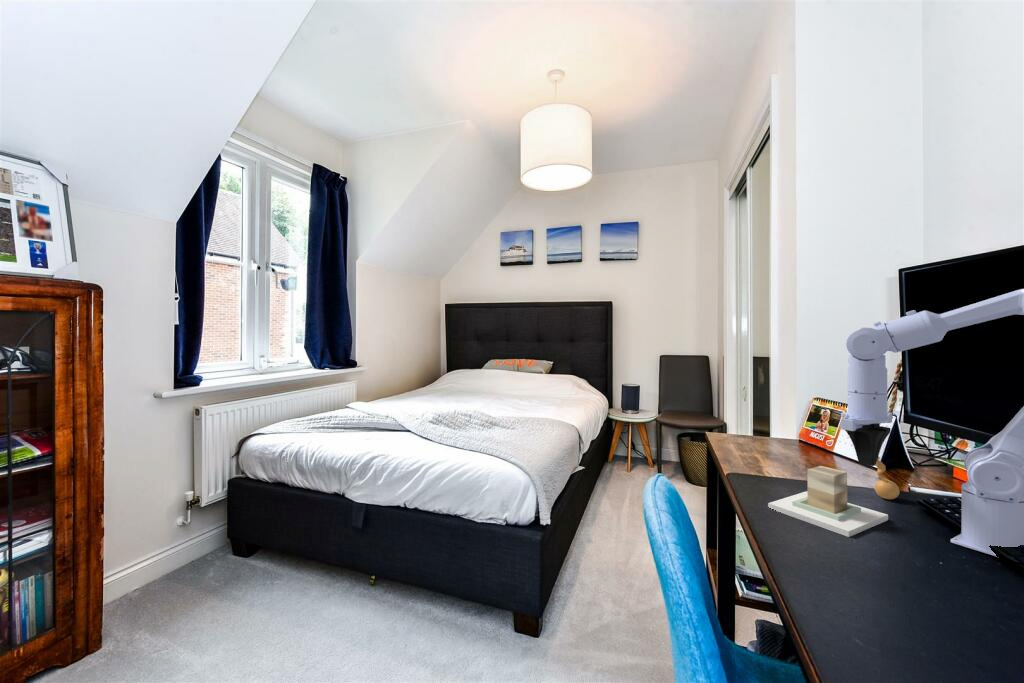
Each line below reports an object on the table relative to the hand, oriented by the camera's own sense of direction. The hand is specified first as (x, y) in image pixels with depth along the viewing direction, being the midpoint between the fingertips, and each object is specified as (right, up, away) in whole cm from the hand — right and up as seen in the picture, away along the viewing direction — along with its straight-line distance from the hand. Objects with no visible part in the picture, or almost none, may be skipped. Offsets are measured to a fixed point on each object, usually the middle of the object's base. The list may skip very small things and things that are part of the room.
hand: (867, 464), depth 80 cm
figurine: (+12, -10, +11) cm, 19 cm away
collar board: (-6, -10, +3) cm, 12 cm away
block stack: (-6, -9, +3) cm, 11 cm away
